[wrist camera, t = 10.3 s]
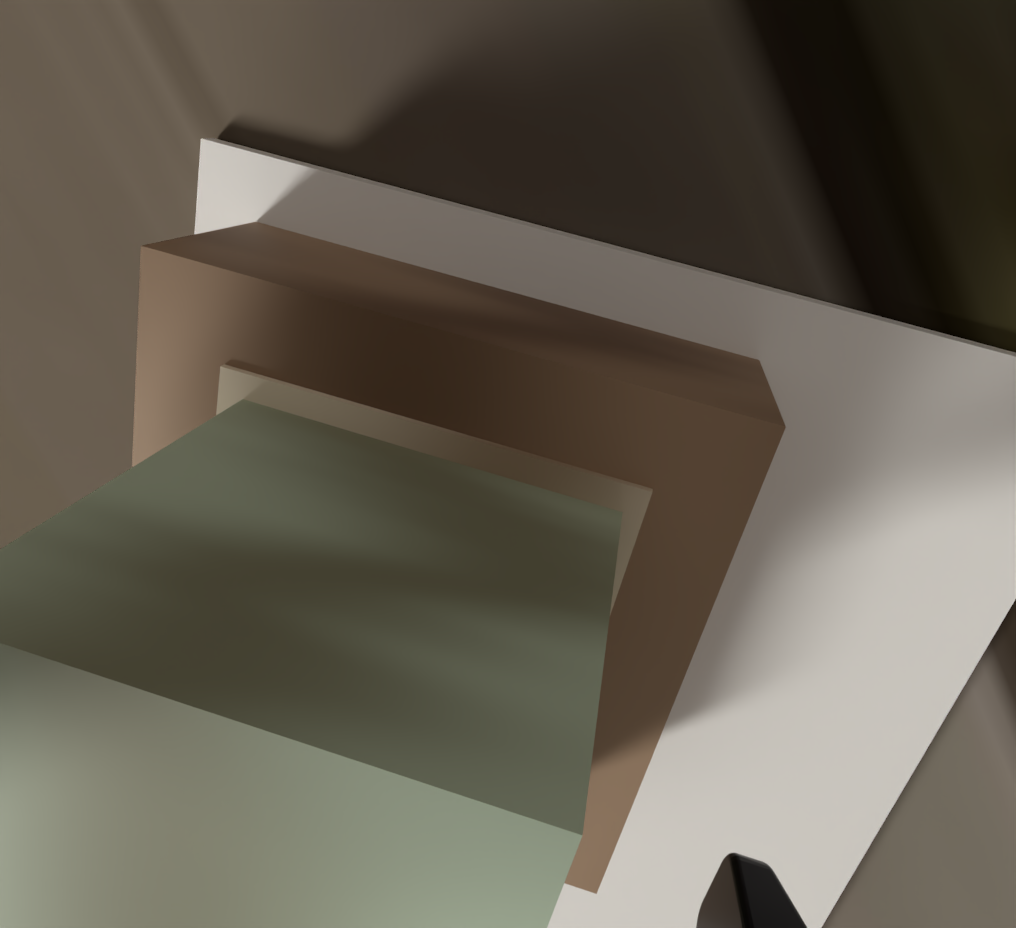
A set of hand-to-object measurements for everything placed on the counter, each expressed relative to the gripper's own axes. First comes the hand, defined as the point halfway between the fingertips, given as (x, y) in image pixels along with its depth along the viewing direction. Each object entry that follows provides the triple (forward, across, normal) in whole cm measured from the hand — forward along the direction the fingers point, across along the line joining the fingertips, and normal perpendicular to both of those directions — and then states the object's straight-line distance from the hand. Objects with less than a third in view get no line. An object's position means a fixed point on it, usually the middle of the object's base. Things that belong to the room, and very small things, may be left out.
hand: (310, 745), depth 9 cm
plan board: (+6, -2, +2) cm, 7 cm away
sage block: (+3, 0, 0) cm, 3 cm away
